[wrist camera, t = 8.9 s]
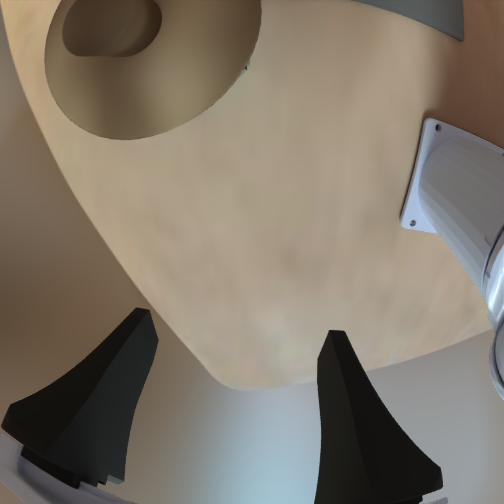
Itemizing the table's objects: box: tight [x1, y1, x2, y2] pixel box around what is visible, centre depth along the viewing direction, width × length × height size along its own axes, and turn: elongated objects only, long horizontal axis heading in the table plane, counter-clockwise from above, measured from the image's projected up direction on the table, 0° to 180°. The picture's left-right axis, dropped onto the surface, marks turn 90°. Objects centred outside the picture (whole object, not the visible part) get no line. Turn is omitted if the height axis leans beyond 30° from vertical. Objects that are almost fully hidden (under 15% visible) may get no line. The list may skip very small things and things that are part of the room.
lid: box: [45, 0, 262, 140], centre depth 7 cm, size 12×12×4 cm
